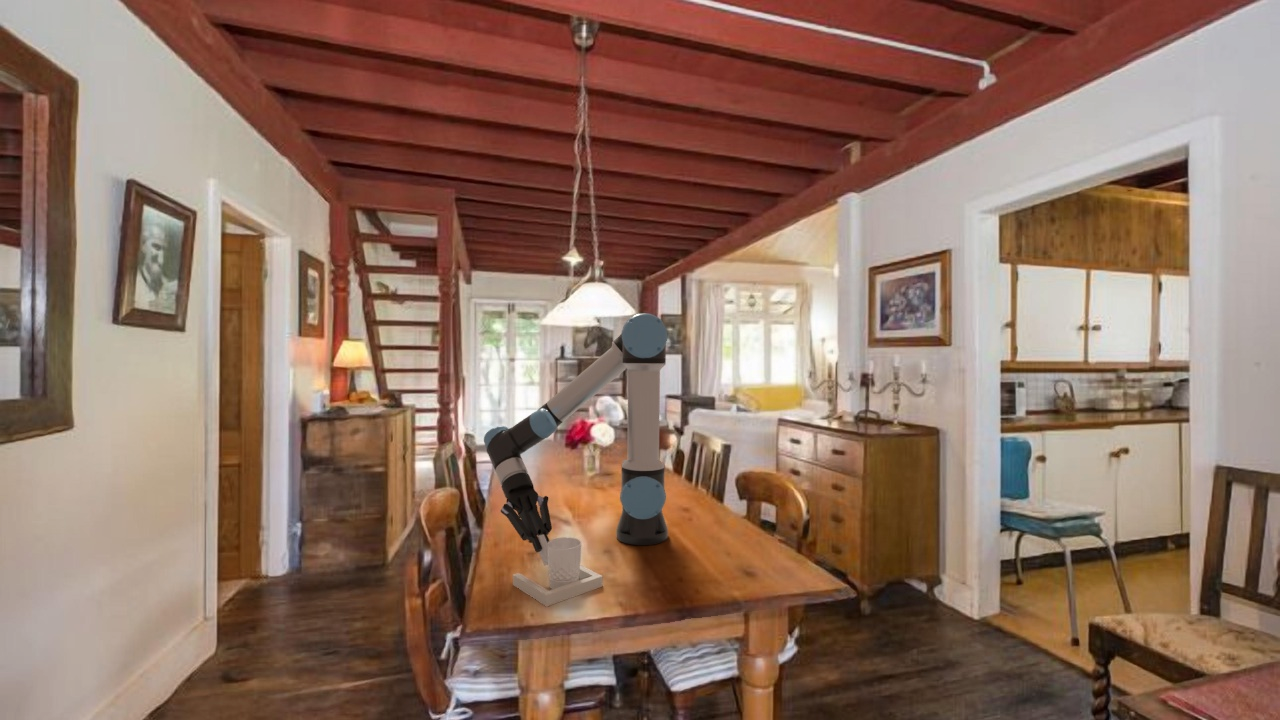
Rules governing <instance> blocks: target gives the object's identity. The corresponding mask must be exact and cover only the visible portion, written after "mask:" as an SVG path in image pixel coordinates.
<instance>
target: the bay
mask: <svg viewBox="0 0 1280 720" xmlns="http://www.w3.org/2000/svg"><path fill="white" fill-rule="evenodd" d="M603 578H604V576H603V575H602V574H599V573H598V572H595V571H593V570H591V569H589V568H587V567H585V566H583V565H581V564H580V573H579V581H576V582H573V583H570V584H567V585H564V586H562V587H559V588H556V589H550V590H548V589H547V588H544V586H542V585H540V584H538V583H537V582H535V581H533V580H532V579H530V578H528V577H527V576H525V575H523V574H522V573H520V572H518V573H513V574H512V585H513V586H514V587H515V588H517V589H518V588H519V590H520V591H521V592H523V593H524V594H526V595H528V596H529V595H530V596H529V597H531V598H532V597H533V599H534V600H535V599H536V600H535V601H537V602H539V603H540V604H541V605H543V606H545V607H548V606H552V605H555V604H557V603H560V602H563V601H565V600H569V599H571V598H574V597H577V596H579V595H583V594H587V593H588V592H591V591H594V590H596V589H599V588H601V587H603V585H604V579H603Z"/></svg>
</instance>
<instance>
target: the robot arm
mask: <svg viewBox="0 0 1280 720" xmlns="http://www.w3.org/2000/svg"><path fill="white" fill-rule="evenodd" d="M667 342H668V329H667V328H666V325H665V323H664V322H663V320H662V319H661V318H659V317H658V316H656V315H654V314H652V313H646V312H643V313H637V314H634V315H632V316H631V317H629V318H628V320H626V322H625V323H624V325H623V326H622V331H621V334H619V335H618V336H617V338H615V339H614V340H613V341H612V342H611V347H610V348H609V349H607V351H605V352H604V353H603V354H602V355H601V356H599V357H598V358H597V359H596V360H595V361H594V362H592V364H590V365H588V367H587V368H585V369H584V370H583V371H581V372H580V373H579V374H578V375H577V376H576V377H575V378H573V379H572V380H571V381H570V382H569V383H568V384H567V385H565V386H564V387H563V388H562V389H561V390H559V392H557V393H556V394H555V395H553V397H552V398H550V399H549V400H548V401H547V402H545V403H544V404H542V406H541V407H540V408H538V409H537V410H536V411H533V412H532V413H531V414H530V415H528V416H526V417H525V418H523V419H522V420H521V421H519V422H518V423H516V424H515V425H513V426H511V427H510V428H509V427H507V426H506V425H505V426H504V425H498V426H496V427H492V428H491V429H489V430H488V431H486V433H485V434H484V436H483V442H484V443H483V444H484V446H485V449H486V454H487V455H488V457H489V460H490V462H491V464H492V467H493V469H494V472H495V474H496V477H497V479H498V481H499V484H500V485H501V486H500V488H501V489H502V492H503V494H504V497H505V499H506V501H505V502H506V503H504V504H503V506H502V508H501V509H500V513H501V514H502V515H503V516H505V517H506V518H507V520H508V521H509V522H510V524H511V526H513V528H514V530H515V531H516V532H517V534H518V536H520V539H522V541H528V543H529V544H532V547H533V548H534V552H535V553H538V554H539V556H540V559H541V561H542V563H543V566H548V552H547V543H548V542H549V541H550V539H549V536H548V535H549V534H550V533H551V531H552V529H553V526H552V521H551V516H550V511H549V505H548V503H549V497H548V496H547V495H545V496H540V495H539V494H538V492H537V491H536V490H535V487H534V483H533V480H532V479H531V476H530V475H529V471H528V469H527V467H526V465H525V463H524V460H523V458H522V454H524V453H525V452H526V451H528V450H529V449H531V448H533V447H534V446H536V445H537V444H539V443H541V442H542V441H543V440H546V439H548V438H549V437H550V436H551V435H553V434H554V433H556V432H557V429H558V427H559V426H560V425H561V424H563V423H564V422H565V421H566V420H567V419H568V418H570V417H571V416H572V415H573V414H574V413H575V412H576V411H578V410H580V408H582V407H583V406H584V405H585V404H586V403H587V402H588V401H589V400H591V399H592V398H593V397H594V396H596V395H597V394H598V393H599V392H601V390H603V389H605V387H606V386H607V385H609V384H610V383H611V382H612V381H614V380H615V379H616V378H617V377H618V376H620V375H621V374H622V373H623V372H624V371H626V370H627V431H626V432H627V434H626V435H627V438H626V439H627V440H626V441H627V445H626V449H627V450H626V451H627V454H626V455H627V459H624V460H623V461H622V464H621V471H620V472H621V474H620V475H621V480H620V482H621V488H620V489H621V490H620V491H621V492H620V494H619V498H620V499H619V500H620V503H621V507H622V511H621V515H620V518H619V521H618V524H617V526H616V539H617V540H618V541H619V542H621V543H624V544H627V545H634V546H651V545H657V544H661V543H663V542H665V541H667V540H668V538H669V533H668V531H669V530H668V525H667V522H666V519H665V517H664V514H663V508H664V505H665V503H666V500H667V499H666V498H667V493H666V491H665V471H666V470H665V464H664V463H663V462H662V460H660V409H661V408H660V405H661V404H660V399H661V397H660V395H661V394H660V392H661V391H660V390H661V389H660V387H661V386H660V385H661V370H662V369H663V367H665V366H666V361H667V359H666V356H667V355H666V354H667V350H666V349H667ZM537 503H538V505H537ZM538 507H539V510H538Z"/></svg>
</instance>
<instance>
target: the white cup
mask: <svg viewBox="0 0 1280 720" xmlns="http://www.w3.org/2000/svg"><path fill="white" fill-rule="evenodd" d="M547 552H548V565H547V570H548V578H549V588H550V590H553V589H556V588H559V587H562V586H564V585H567V584H570V583H573V582H576V581H579V580H580V579H579V573H580V565H581V561H582V560H581V559H582V541H581V540H580V539H578V538H576V537H571V536H570V537H569V536H562V537H555V538H552V539H551V540H550V539H549V542H548V543H547Z"/></svg>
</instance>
